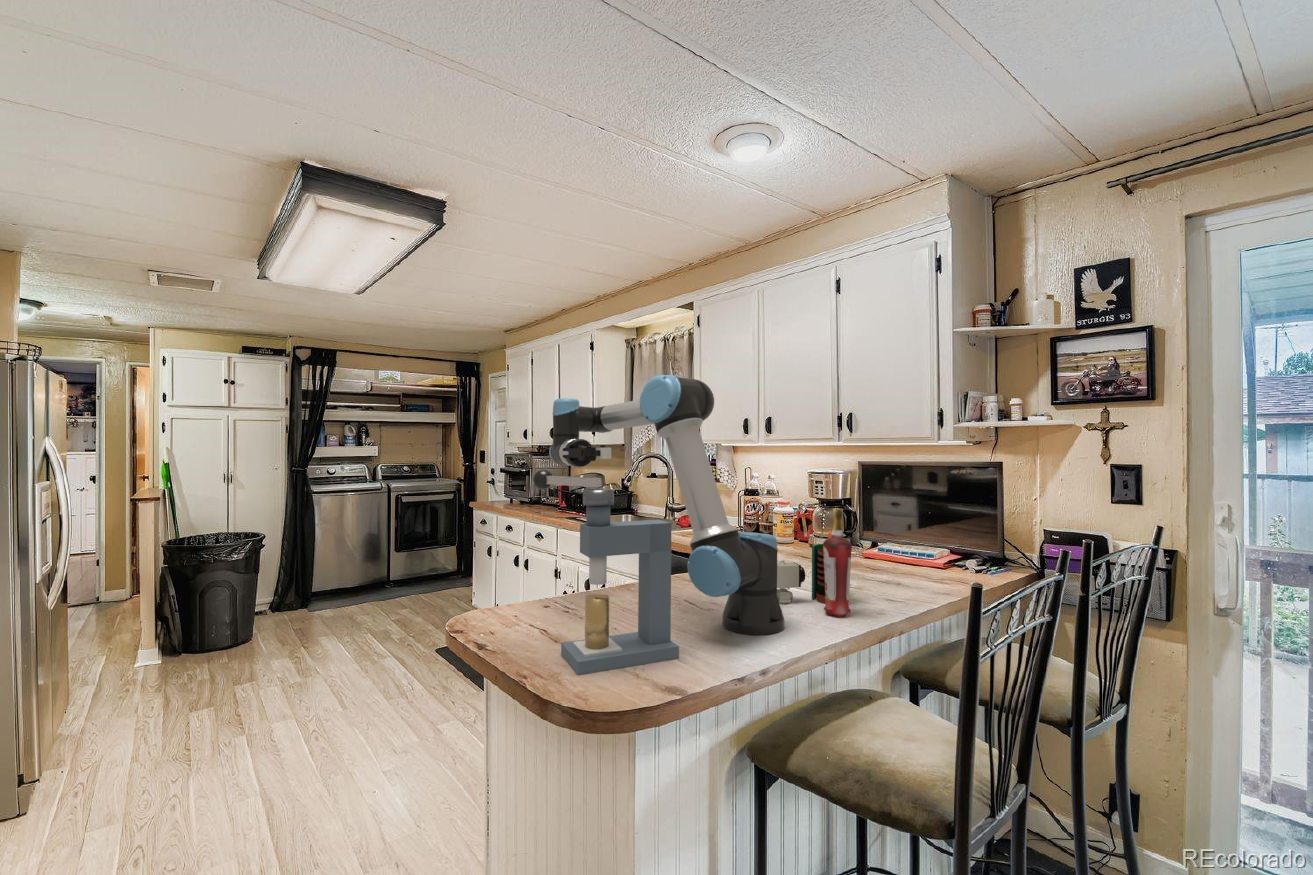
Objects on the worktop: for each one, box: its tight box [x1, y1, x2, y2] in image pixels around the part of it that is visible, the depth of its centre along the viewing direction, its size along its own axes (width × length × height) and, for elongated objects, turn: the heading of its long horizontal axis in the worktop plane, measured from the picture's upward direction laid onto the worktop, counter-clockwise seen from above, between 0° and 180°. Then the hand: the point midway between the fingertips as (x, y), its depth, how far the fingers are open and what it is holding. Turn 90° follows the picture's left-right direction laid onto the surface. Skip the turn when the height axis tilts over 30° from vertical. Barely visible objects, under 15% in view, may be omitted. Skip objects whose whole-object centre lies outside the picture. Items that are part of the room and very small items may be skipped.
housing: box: [584, 593, 610, 650], centre depth 121 cm, size 5×5×10 cm
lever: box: [532, 469, 615, 506], centre depth 126 cm, size 6×21×7 cm, turn 56°
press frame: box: [560, 505, 680, 676], centre depth 123 cm, size 22×12×32 cm, turn 115°
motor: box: [811, 529, 832, 605], centre depth 169 cm, size 10×9×20 cm
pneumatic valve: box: [777, 559, 806, 605], centre depth 167 cm, size 6×12×12 cm, turn 100°
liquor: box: [822, 508, 853, 618], centre depth 155 cm, size 7×7×28 cm
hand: (608, 453), depth 140 cm, fingers closed
